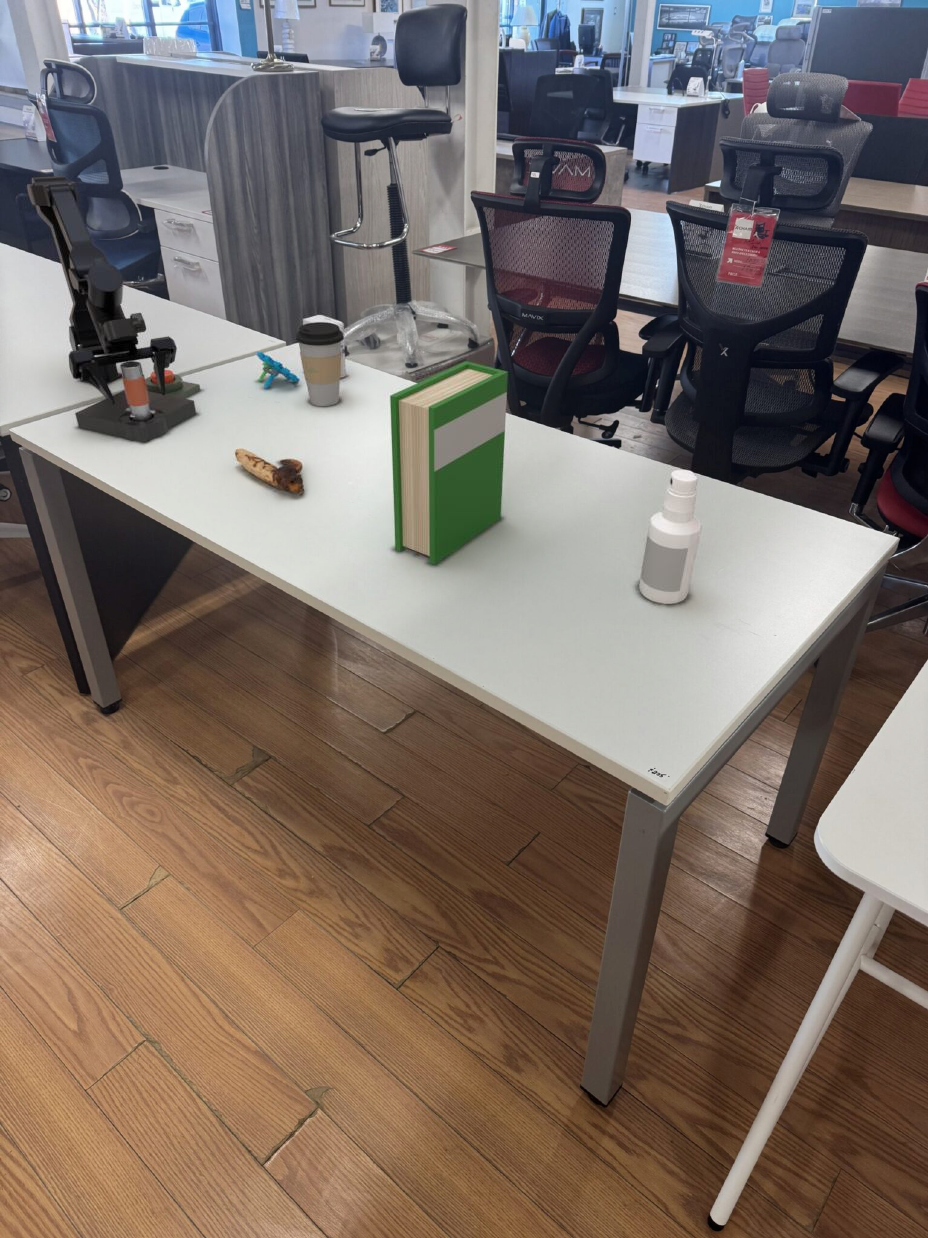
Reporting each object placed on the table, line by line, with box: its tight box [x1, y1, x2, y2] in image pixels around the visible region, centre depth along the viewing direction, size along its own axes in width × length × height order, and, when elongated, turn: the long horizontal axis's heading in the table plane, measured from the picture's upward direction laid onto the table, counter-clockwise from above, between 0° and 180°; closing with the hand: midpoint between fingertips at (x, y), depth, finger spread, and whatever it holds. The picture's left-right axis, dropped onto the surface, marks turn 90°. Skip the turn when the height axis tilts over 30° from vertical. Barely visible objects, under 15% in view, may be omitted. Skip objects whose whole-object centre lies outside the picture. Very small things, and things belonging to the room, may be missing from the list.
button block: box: [145, 373, 201, 399], centre depth 176 cm, size 11×9×3 cm
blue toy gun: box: [256, 351, 300, 389], centre depth 181 cm, size 11×6×10 cm
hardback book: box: [389, 360, 509, 566], centre depth 125 cm, size 18×7×24 cm, turn 145°
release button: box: [150, 369, 174, 384], centre depth 175 cm, size 4×4×2 cm
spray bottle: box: [638, 469, 703, 605], centre depth 114 cm, size 7×7×18 cm
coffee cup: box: [295, 322, 345, 407], centre depth 171 cm, size 9×9×15 cm
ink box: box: [302, 314, 347, 379], centre depth 185 cm, size 9×5×12 cm, turn 47°
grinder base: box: [74, 389, 197, 443], centre depth 164 cm, size 17×15×3 cm
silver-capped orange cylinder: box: [119, 360, 155, 422], centre depth 157 cm, size 6×6×13 cm
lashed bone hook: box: [234, 448, 305, 495], centre depth 145 cm, size 9×5×18 cm
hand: (139, 398), depth 156 cm, fingers open, 9 cm apart
